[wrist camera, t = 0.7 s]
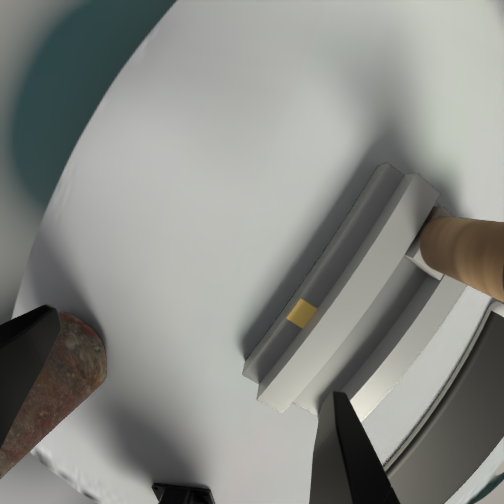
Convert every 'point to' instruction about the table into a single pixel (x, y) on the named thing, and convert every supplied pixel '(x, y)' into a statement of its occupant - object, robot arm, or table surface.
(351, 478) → the robot arm
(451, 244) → the lever
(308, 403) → the slider console
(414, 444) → the smartphone
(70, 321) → the candle
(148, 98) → the table surface
